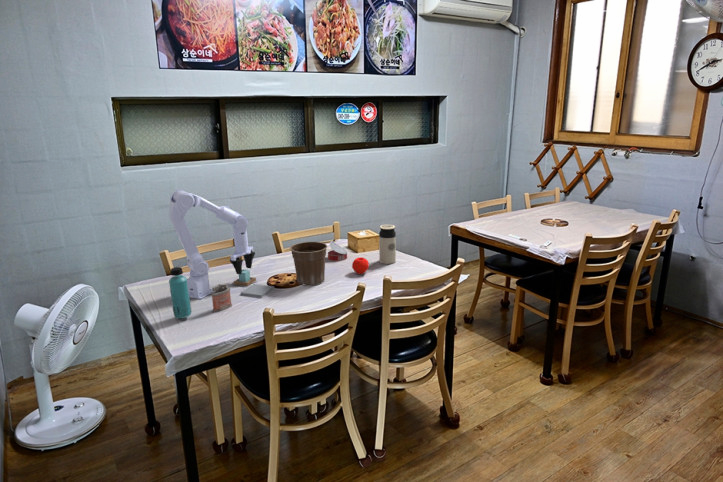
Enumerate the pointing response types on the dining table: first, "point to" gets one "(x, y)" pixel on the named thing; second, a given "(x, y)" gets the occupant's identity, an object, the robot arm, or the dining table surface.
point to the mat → (257, 290)
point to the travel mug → (387, 244)
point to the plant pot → (309, 262)
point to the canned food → (337, 252)
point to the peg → (244, 276)
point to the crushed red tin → (221, 298)
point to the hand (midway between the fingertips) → (244, 270)
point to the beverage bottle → (179, 293)
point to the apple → (360, 265)
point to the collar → (245, 282)
